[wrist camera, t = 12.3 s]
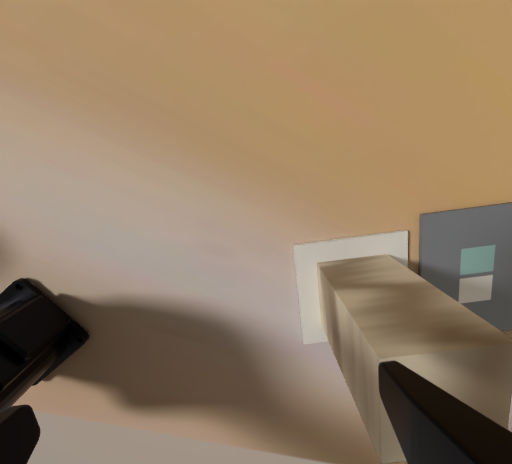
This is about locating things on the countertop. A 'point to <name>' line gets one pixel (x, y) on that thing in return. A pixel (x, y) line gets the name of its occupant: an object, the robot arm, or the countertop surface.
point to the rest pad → (330, 251)
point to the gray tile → (471, 259)
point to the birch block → (409, 341)
